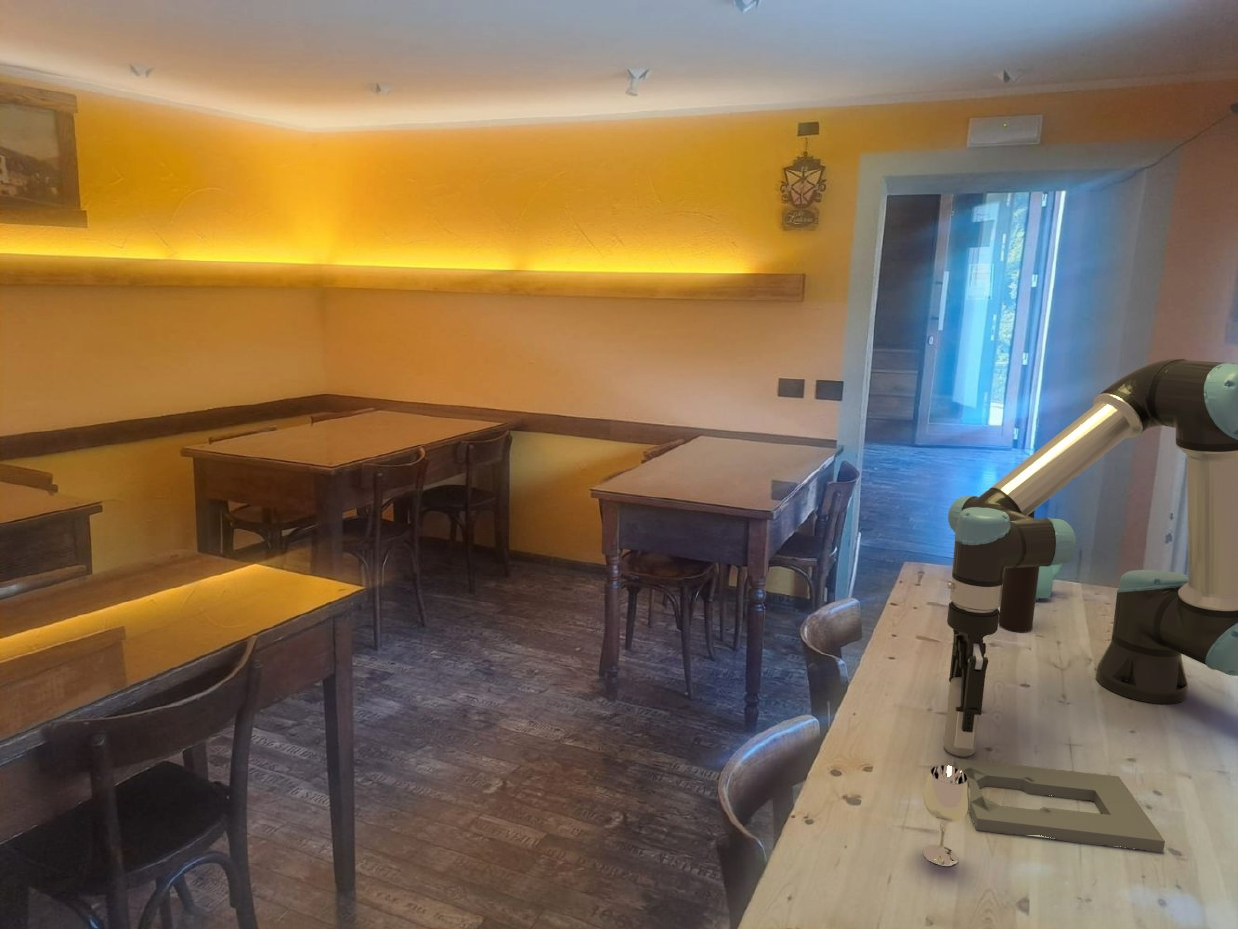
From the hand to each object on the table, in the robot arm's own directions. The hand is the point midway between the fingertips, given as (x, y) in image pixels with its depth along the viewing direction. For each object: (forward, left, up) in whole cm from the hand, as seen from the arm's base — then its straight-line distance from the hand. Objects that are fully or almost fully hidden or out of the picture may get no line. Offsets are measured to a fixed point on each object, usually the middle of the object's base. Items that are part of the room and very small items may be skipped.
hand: (960, 738), depth 139 cm
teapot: (-32, -84, -3) cm, 90 cm away
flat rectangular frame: (-10, +14, -2) cm, 17 cm away
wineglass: (+8, +29, -2) cm, 30 cm away
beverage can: (0, 0, -2) cm, 2 cm away
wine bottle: (-24, -60, -2) cm, 65 cm away
